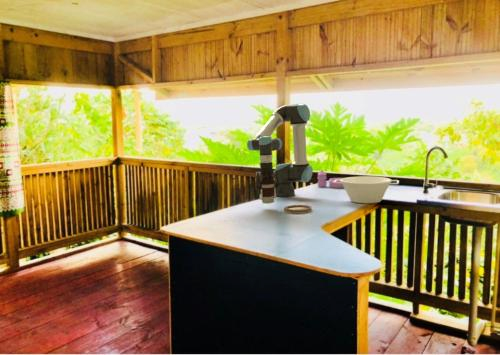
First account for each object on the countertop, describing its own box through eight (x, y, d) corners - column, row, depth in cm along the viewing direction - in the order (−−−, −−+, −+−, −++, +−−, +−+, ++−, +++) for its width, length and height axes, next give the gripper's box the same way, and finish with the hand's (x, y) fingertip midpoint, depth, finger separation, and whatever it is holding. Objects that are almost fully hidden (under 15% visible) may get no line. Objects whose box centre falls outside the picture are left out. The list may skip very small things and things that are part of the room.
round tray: (279, 209, 244) (279, 206, 243) (303, 206, 249) (303, 203, 249) (291, 214, 228) (291, 211, 228) (316, 211, 234) (316, 208, 234)
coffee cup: (274, 204, 240) (273, 179, 238) (258, 204, 242) (257, 179, 240) (277, 200, 250) (276, 176, 248) (261, 200, 252) (260, 177, 250)
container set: (350, 185, 325) (350, 169, 323) (347, 188, 311) (347, 171, 309) (319, 185, 334) (319, 169, 332) (315, 188, 320) (315, 171, 318)
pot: (329, 204, 252) (329, 182, 251) (338, 195, 282) (338, 175, 280) (397, 207, 237) (397, 183, 236) (399, 197, 267) (399, 176, 265)
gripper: (252, 164, 235) (254, 201, 239) (284, 161, 242) (285, 197, 246) (247, 162, 242) (249, 199, 245) (279, 159, 249) (280, 195, 253)
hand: (267, 198), depth 246 cm, fingers closed on coffee cup, 8 cm apart
